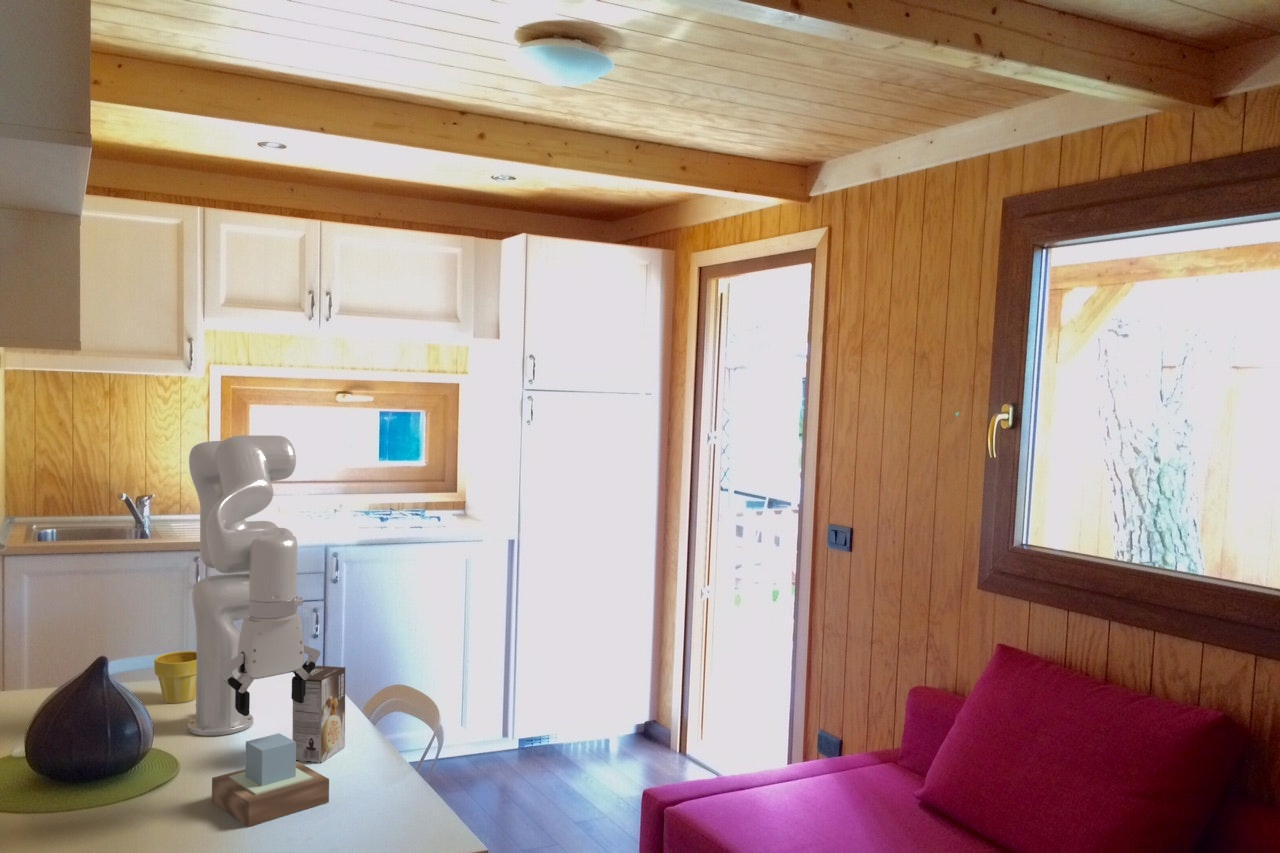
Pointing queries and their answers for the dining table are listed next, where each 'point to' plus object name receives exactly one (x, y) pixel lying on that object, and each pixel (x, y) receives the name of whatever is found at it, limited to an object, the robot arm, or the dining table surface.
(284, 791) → the plinth
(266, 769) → the cube
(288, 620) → the robot arm
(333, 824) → the dining table surface
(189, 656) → the plant pot
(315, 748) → the coffee box
